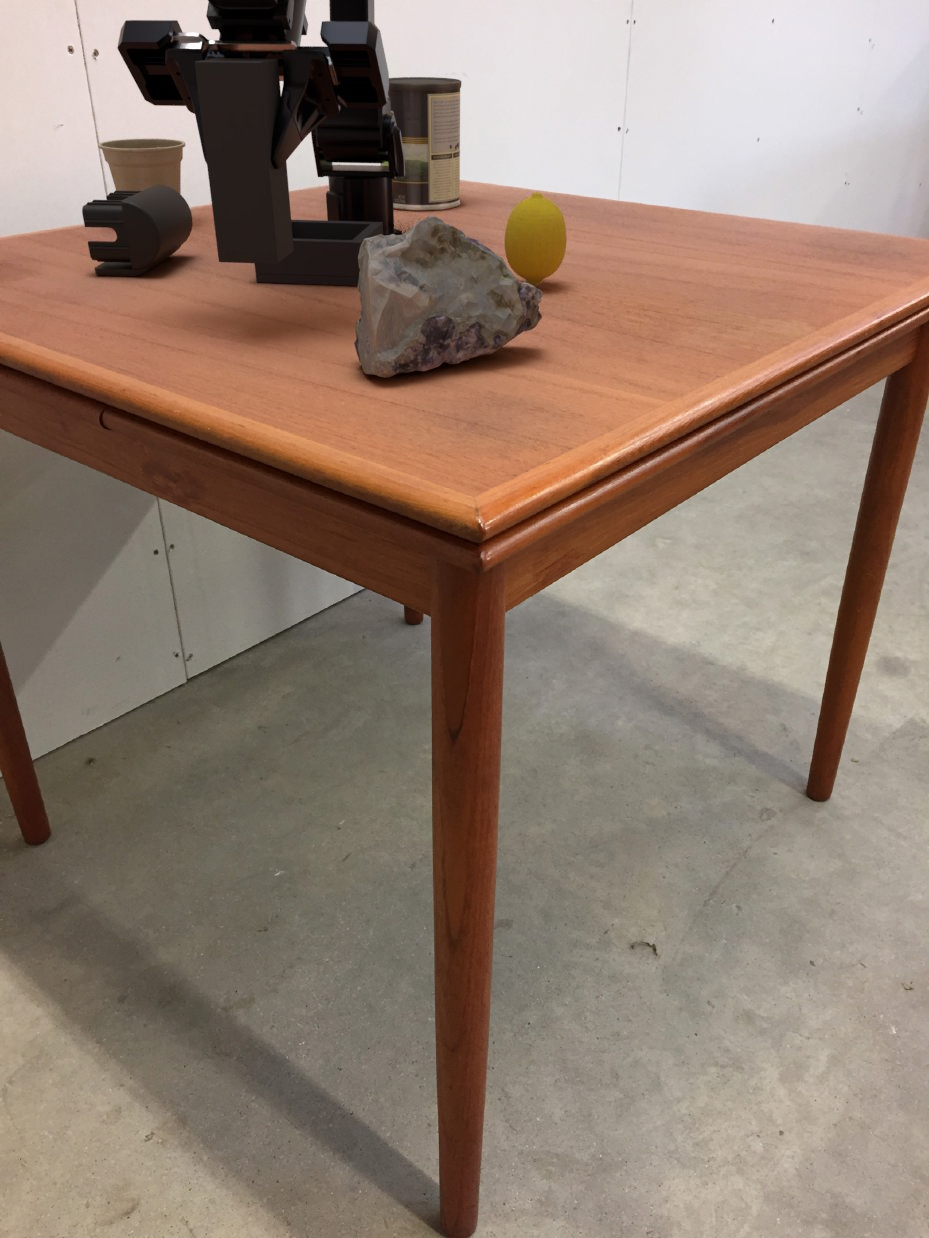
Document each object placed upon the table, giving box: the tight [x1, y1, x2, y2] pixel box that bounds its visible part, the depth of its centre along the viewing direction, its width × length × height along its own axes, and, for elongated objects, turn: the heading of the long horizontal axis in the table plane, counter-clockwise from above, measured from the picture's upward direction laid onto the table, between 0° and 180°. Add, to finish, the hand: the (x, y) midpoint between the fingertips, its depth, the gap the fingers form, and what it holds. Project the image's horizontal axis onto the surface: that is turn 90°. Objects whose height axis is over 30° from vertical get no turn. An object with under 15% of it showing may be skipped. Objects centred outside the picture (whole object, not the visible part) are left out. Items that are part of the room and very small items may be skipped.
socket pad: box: [254, 219, 383, 287], centre depth 95 cm, size 10×10×4 cm
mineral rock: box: [353, 215, 544, 378], centre depth 69 cm, size 13×11×10 cm
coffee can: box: [380, 76, 462, 212], centre depth 125 cm, size 10×10×14 cm
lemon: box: [504, 191, 568, 287], centre depth 90 cm, size 6×6×8 cm
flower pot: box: [97, 137, 186, 195], centre depth 114 cm, size 9×9×9 cm
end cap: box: [81, 184, 194, 277], centre depth 97 cm, size 10×7×7 cm
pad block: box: [195, 58, 294, 264], centre depth 72 cm, size 4×4×13 cm
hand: (241, 164), depth 71 cm, fingers closed on pad block, 4 cm apart
